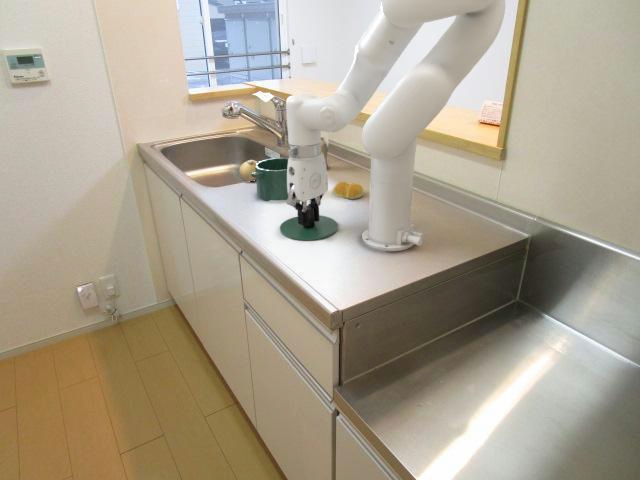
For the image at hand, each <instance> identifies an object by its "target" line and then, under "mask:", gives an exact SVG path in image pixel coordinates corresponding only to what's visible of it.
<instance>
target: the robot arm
mask: <svg viewBox="0 0 640 480" xmlns="http://www.w3.org/2000/svg"><path fill="white" fill-rule="evenodd" d="M505 13H506V0H380V8H379V9H378V11H377V13H376V14H375V15H374V16H373V18H372V20H371V22H370V23H369V25H368V26H367V28H366V29H365V30H364V32H363V34H362V35H361V37H360V38H359V40H358V41H357V43H356V45H355V51H354V59H353V62H352V64H351V67H350V69H349V71H348V72H347V74H346V76H345V77H344V78H343V80H342V82H341V83H340V85H339V86H338V87H337V89H336V90H335V92H333V93H331V94H329V95H327V96H324V97H318V96H317V95H315V94H310V93H299V94H298V93H297V94H294V95H293V94H292V95H290V96H288V97H287V99H286V101H285V110H286V124H287V125H286V126H287V140H288V142H287V143H288V150H286V151H287V152H286V154H287V155H288V157H287V158H288V166H287V191H288V199H287V200H286V205H287V206H291V207H292V208H294V210H296V211H297V217H298V223H299V224H300V225H303V226H306V227H307V226H309V213H308V211H306V209H307V205H310V206H314V215H315V221H316V222H318V221H319V215H320V206H321V204H322V202H321V201H322V200H323V199H322V198H323V196H324V195H325V194H326V193H327V192H328V190H329V180H328V169H326V162H325V158H324V155H323V153H321V131H324V132H328V133H337V132H339V131H342V130H343V129H344V128H346V127H347V126H348V125H349V124H351V123H352V122H354V120H355V119H357V117H358V116H359V115H360V114H361V112H362V111H363V110H364V108H365V106H367V104H368V103H369V101H370V100H371V98H372V97H373V96H374V95H375V93H376V91H377V90H378V88H379V87H380V85H381V84H382V83H383V81H384V80H385V78H386V77H387V76H388V74H389V73H390V71H391V70H392V68H393V67H394V66H395V64H396V62H397V61H398V60H399V59H400V57H401V55H402V54H403V52H404V51H405V50H406V49H407V47H408V46H409V44H410V43H411V41H412V40H413V39H414V38H415V36H416V35H417V34H418V32H419V31H420V29H421V28H422V27H423V25H424V24H426V23H430V22H431V23H432V22H435V21H438V20H443V19H448V18H451V17H455V18H454V20H453V21H452V23H451V24H450V25H449V27H448V28H447V29H446V31H445V32H444V33H443V34H442V35H441V37H440V38H439V39H438V41H437V42H436V43H435V45H433V47H432V48H431V49H430V50H429V52H428V53H427V54H426V55H425V56H424V57H423V58H422V59H421V61H420V62H418V63H417V64H414V66H412V67H411V68H409V69H408V70H407V71H405V73H404V74H403V75H402V76H401V77H400V78H399V79H398V81H397V83H395V85H394V86H393V87H392V88H391V90H390V91H389V92H388V93H387V95H386V96H385V97H384V99H383V100H382V101H381V102H380V103H379V105H378V106H377V107H376V108H375V110H374V111H373V112H372V113H371V115H369V117H368V118H367V119H366V121H365V123H364V124H363V127H362V131H361V142H362V147H363V149H364V150H365V152H366V153H367V154H368V155H369V156H370V157H371V158H370V169H369V171H370V172H369V173H370V174H369V175H370V176H369V207H368V211H369V212H368V213H369V214H368V228H366V230H364V231H363V232H362V235H361V237H362V238H361V239H362V240H361V241H362V242H363V243H364V244H365V245H367V246H368V247H371V248H374V249H376V250H382V251H386V252H401V251H405V250H409V249H411V248H412V247H413V246H414V245H415V246H418V247H421V246H422V244H423V243H424V242H423V241H424V239H423V238H424V234H423V233H422V232H417V231H415V224H414V223H412V222H411V213H412V198H413V183H414V173H415V171H414V170H415V162H416V161H415V160H416V151H417V144H418V137H419V136H420V135H421V134H422V133H423V132H424V131H425V130H426V128H427V127H428V126H429V125H430V124H431V123H432V122H433V121H434V119H436V117H437V116H438V115H439V114H440V113H441V111H442V110H443V109H444V108H445V107H446V105H447V103H448V102H449V100H450V99H451V97H452V95H453V93H454V92H455V90H456V89H457V87H458V86H459V85H460V84H461V83H462V82H463V81H464V80H465V78H467V76H468V75H469V74H470V72H471V71H472V70H473V69H474V67H476V65H477V64H478V63H479V62H480V61H481V60H482V58H483V57H484V56H485V54H487V52H488V50H489V49H490V48H491V46H492V45H493V44H494V42H495V40H496V39H497V37H498V35H499V33H500V31H501V28H502V25H503V22H504V18H505ZM308 201H309V203H308ZM307 203H308V204H307Z"/></svg>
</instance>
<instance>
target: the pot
mask: <svg viewBox="0 0 640 480" xmlns="http://www.w3.org/2000/svg"><path fill="white" fill-rule="evenodd" d="M288 158H289V157H273V158H267V159H263V160H260V161H257V162H258V163H256V164H255V172H254V173H251V176H252V177H255V178H256V180H255V181H256V182H255V183H256V193H257V198H259V199H260V200H262V201H265V202H271V201H287V200H288V191H287V166H288Z"/></svg>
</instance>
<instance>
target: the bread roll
mask: <svg viewBox="0 0 640 480" xmlns="http://www.w3.org/2000/svg"><path fill="white" fill-rule="evenodd" d="M363 195H364V188H363V186H362V185H361V184H360V183H354V182H352V183H348V182H346V181H340V182H338V183H336V184H335V186H334V187H333V189H332V196H335V197H337V198H341V199H347V200H357V199H359V198H361V197H363Z"/></svg>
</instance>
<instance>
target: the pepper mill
mask: <svg viewBox="0 0 640 480" xmlns="http://www.w3.org/2000/svg"><path fill="white" fill-rule="evenodd" d="M329 133H330V132H324V131H321V153H323V155H324V158H325V162H326V169H327V170H328V169H329V165H328V151H329V144H330V134H329Z"/></svg>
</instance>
